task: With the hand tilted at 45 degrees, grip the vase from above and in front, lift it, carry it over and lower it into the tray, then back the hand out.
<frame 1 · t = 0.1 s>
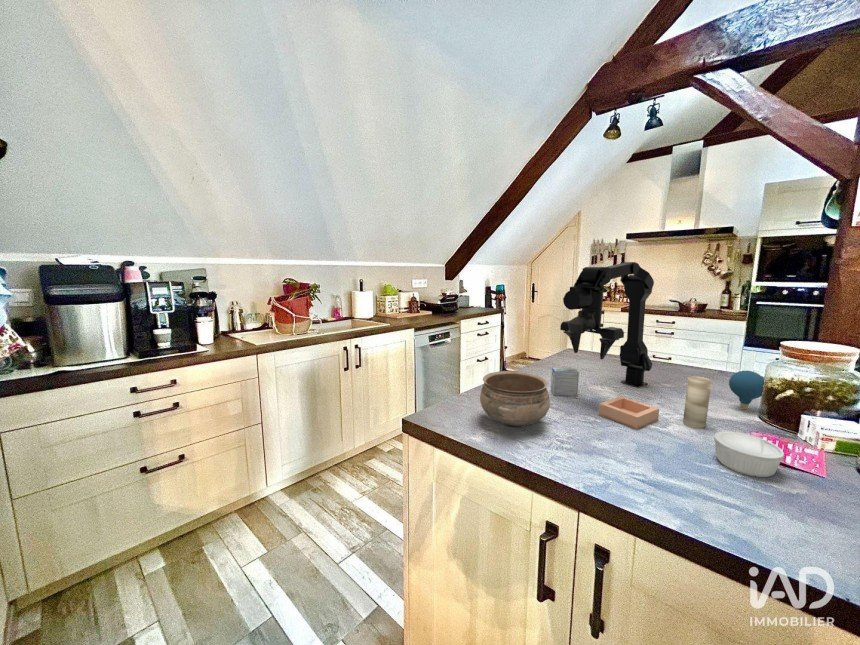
hand: (588, 355, 111), 15 cm above the worktop, tool pointing down, fingers open, 9 cm apart
cooking pot: (513, 422, 98), on the worktop
tray: (627, 417, 100), on the worktop
light bulb: (743, 410, 105), on the worktop
vase: (694, 424, 96), on the worktop
ramekin: (744, 466, 76), on the worktop
medicine box: (563, 394, 119), on the worktop
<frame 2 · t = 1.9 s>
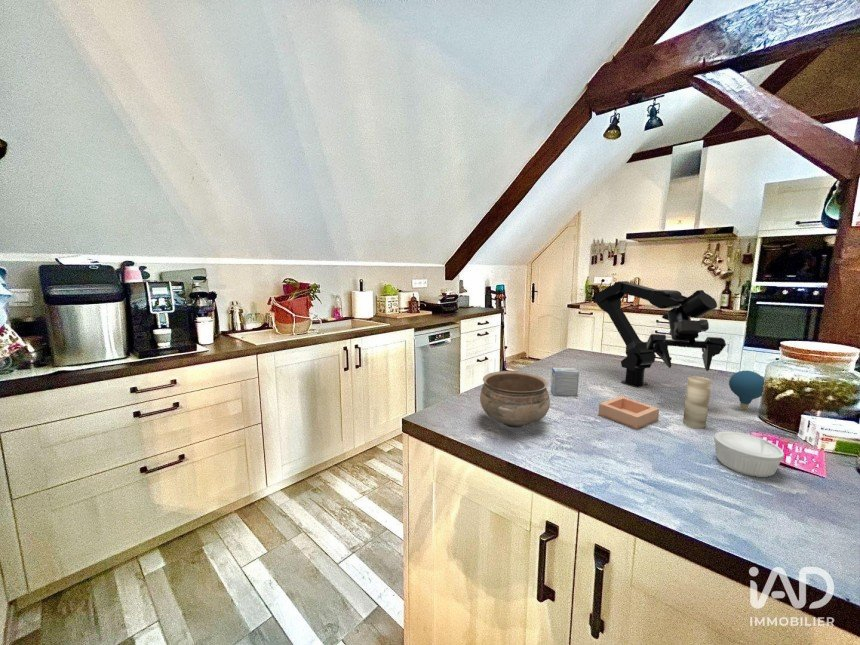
hand: (688, 368, 101), 14 cm above the worktop, tool tilted 45°, fingers open, 9 cm apart
nothing on the worktop moved.
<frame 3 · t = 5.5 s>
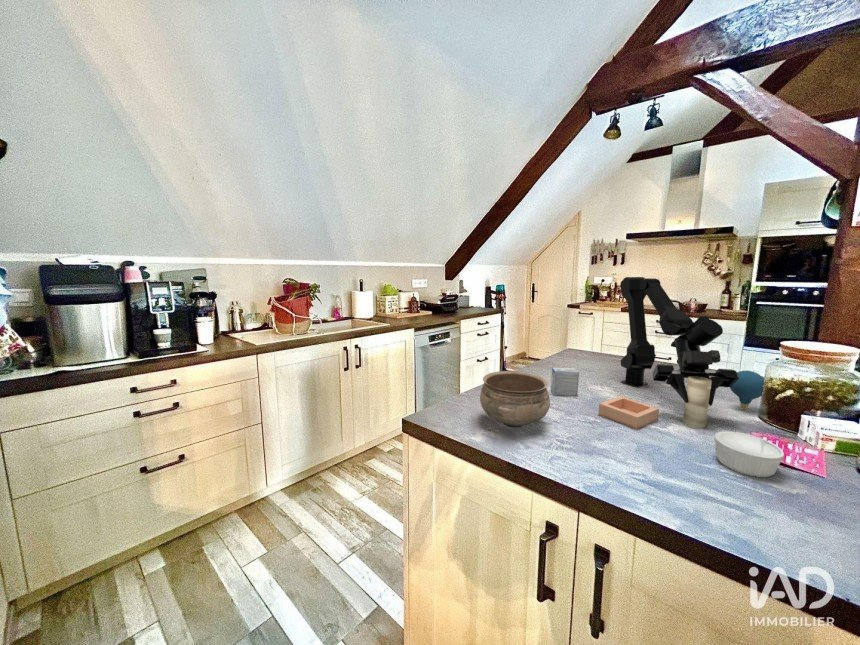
hand: (698, 403, 93), 7 cm above the worktop, tool tilted 45°, fingers closed on vase, 5 cm apart
vase: (694, 424, 96), on the worktop, touching gripper
everything else where it was.
when the fingers open (8 cm above the worktop, at t = 10.3 s): vase drops 1 cm, resting on tray.
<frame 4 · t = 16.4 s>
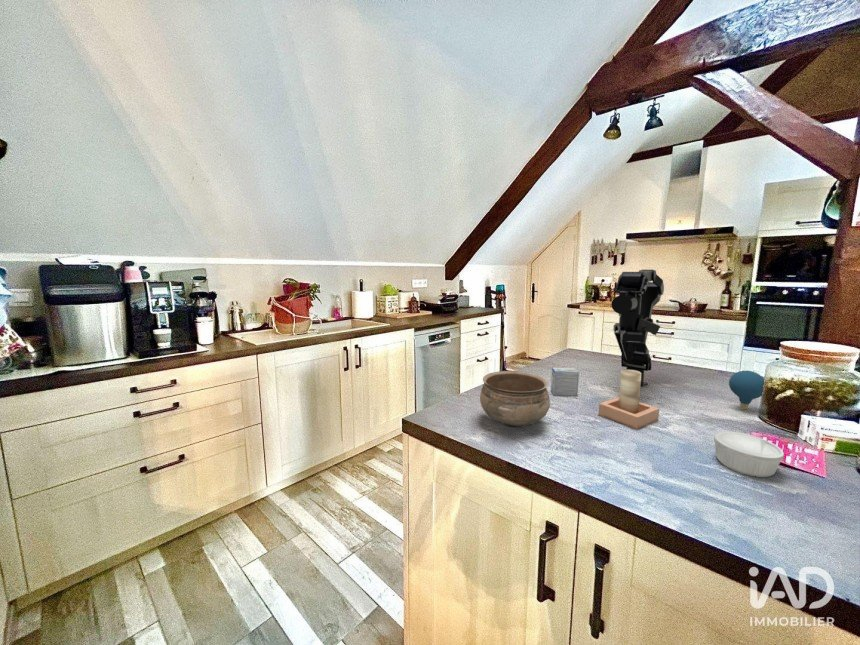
hand: (626, 357, 116), 13 cm above the worktop, tool pointing down, fingers open, 9 cm apart
vase: (627, 415, 100), point 1 cm above the worktop, touching tray
everything else where it was.
at the end: vase 0.0 cm off-centre on the tray, point 0.5 cm above the tray's base; vase tilted 1°; the gripper is holding nothing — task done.
